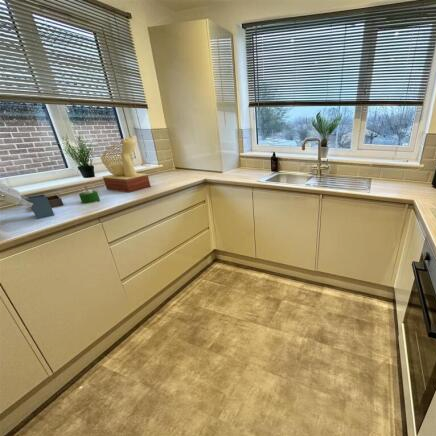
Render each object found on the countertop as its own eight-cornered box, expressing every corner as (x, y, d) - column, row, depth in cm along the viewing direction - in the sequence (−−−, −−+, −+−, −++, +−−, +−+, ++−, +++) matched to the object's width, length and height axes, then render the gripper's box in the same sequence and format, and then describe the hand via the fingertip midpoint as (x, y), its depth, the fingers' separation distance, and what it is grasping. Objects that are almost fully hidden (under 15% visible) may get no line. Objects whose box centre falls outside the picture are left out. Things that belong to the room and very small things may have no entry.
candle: (82, 201, 141) (76, 185, 137) (99, 198, 145) (94, 182, 142) (81, 205, 135) (75, 187, 131) (100, 202, 139) (94, 185, 135)
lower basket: (33, 212, 125) (29, 204, 123) (31, 207, 132) (27, 199, 131) (64, 206, 134) (61, 198, 132) (60, 202, 141) (57, 194, 139)
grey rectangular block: (36, 219, 116) (27, 199, 112) (35, 216, 120) (26, 197, 116) (54, 215, 120) (46, 196, 117) (52, 212, 124) (44, 194, 120)
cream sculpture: (152, 186, 171) (139, 135, 158) (128, 193, 156) (112, 136, 143) (129, 184, 180) (115, 135, 167) (104, 190, 165) (86, 136, 152)
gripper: (-5, 185, 100) (38, 201, 110) (-5, 178, 112) (33, 194, 123) (-16, 198, 98) (28, 213, 109) (-15, 190, 111) (25, 204, 121)
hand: (31, 203), depth 116 cm, fingers open, 8 cm apart
